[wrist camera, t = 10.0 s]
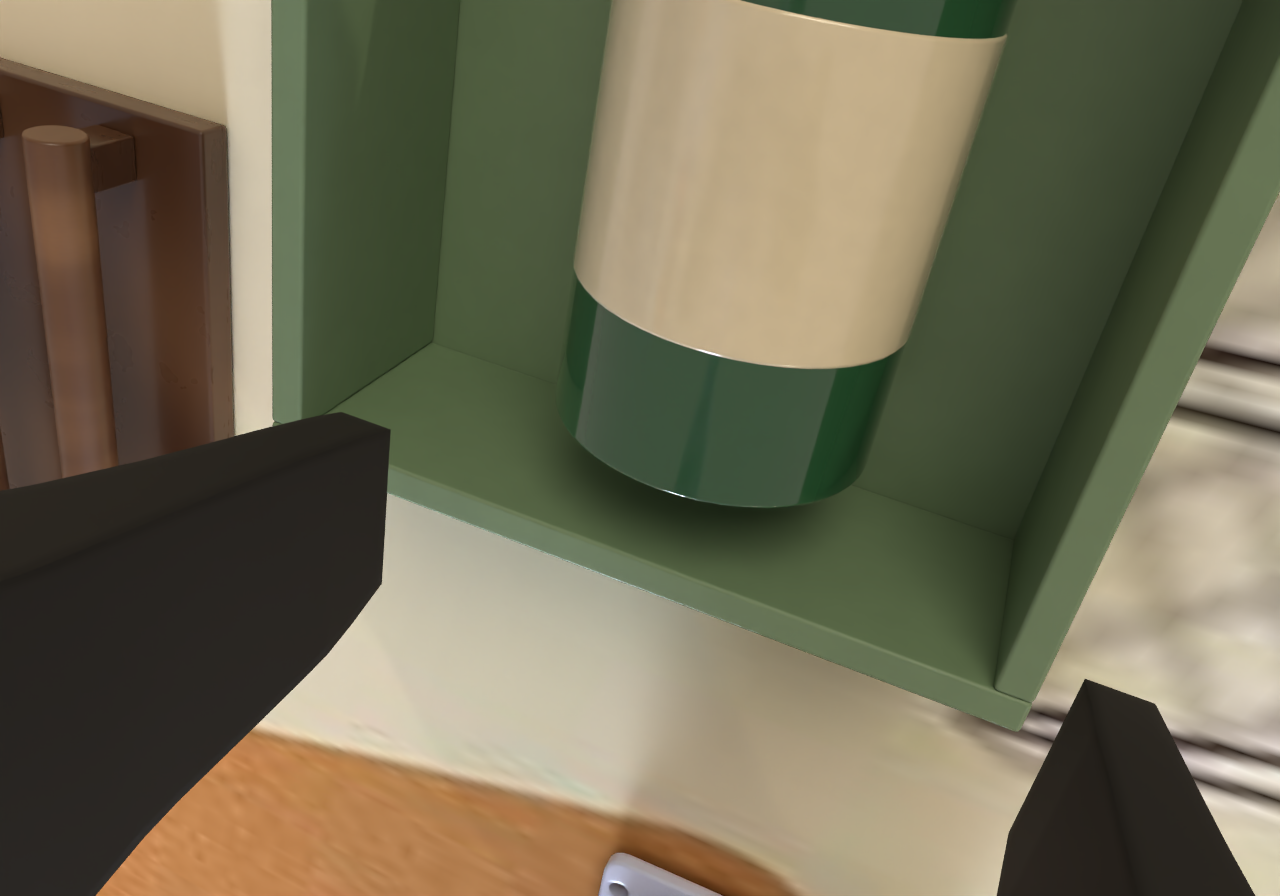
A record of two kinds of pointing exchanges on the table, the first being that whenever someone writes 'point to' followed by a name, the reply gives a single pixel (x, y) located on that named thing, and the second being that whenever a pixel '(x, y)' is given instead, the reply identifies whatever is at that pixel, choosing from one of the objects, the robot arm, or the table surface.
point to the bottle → (763, 232)
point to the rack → (108, 279)
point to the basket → (929, 367)
